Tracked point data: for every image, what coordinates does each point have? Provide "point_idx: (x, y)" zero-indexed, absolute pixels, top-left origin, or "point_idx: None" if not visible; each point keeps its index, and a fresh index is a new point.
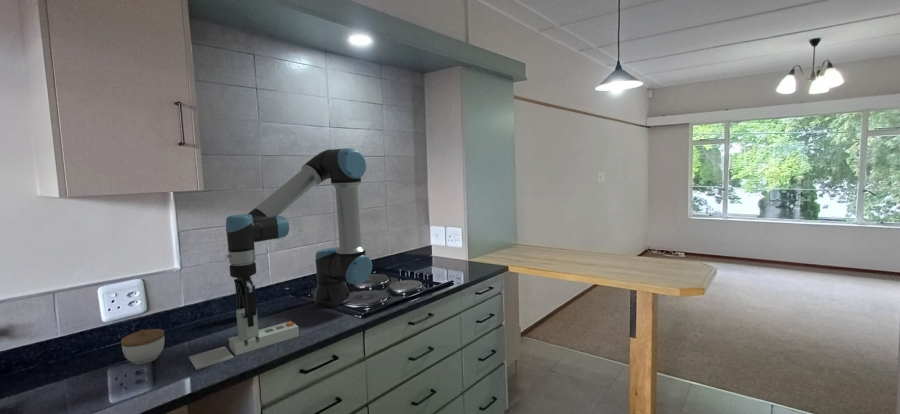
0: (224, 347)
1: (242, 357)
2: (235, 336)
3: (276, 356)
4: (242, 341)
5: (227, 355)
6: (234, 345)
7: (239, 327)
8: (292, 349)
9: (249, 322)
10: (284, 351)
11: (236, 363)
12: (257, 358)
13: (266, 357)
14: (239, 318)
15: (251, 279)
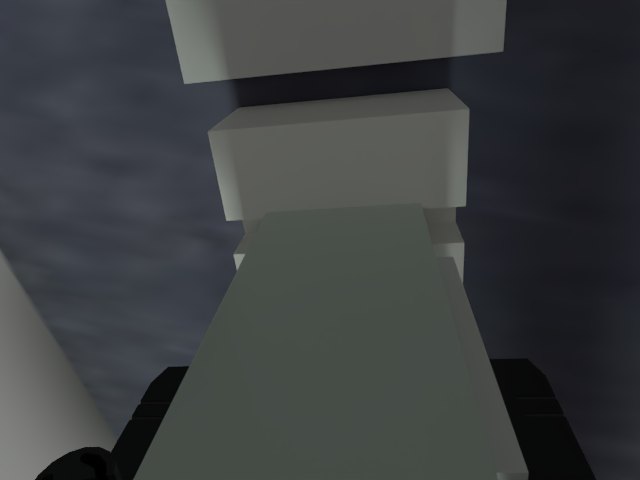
0: (471, 42)
1: (170, 146)
2: (458, 181)
3: (68, 326)
4: (253, 211)
5: (239, 38)
6: (232, 126)
7: (323, 278)
8: (127, 412)
9: (130, 427)
10: (122, 376)
11: (74, 83)
12: (94, 230)
13: (81, 278)
14: (248, 389)
15: None
